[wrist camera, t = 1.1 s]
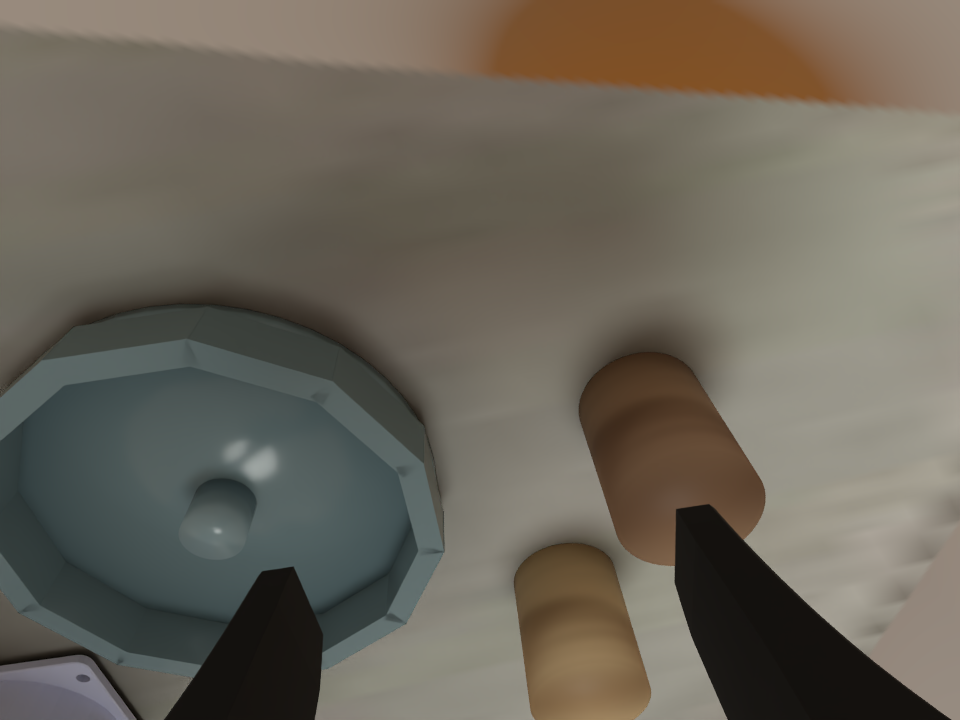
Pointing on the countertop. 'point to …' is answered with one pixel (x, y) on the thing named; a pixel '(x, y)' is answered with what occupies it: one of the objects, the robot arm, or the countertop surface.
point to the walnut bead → (663, 453)
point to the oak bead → (578, 637)
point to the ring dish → (193, 427)
